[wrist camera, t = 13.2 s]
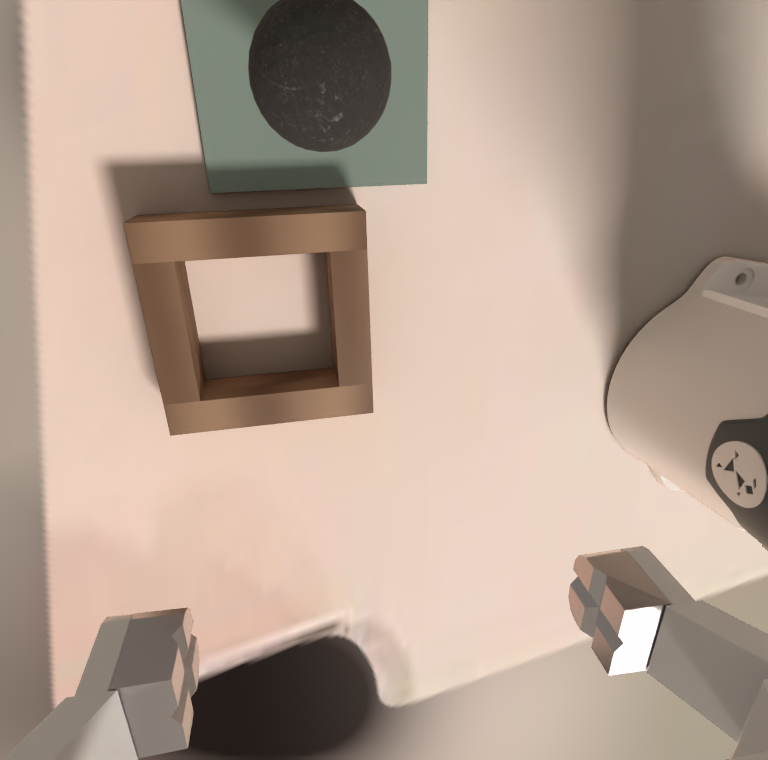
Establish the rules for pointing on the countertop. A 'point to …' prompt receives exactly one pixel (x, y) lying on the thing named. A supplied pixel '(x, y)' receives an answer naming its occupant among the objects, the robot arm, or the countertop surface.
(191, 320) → the socket block
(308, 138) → the light bulb
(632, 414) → the robot arm
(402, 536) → the countertop surface
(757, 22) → the countertop surface
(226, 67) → the rubber mat
